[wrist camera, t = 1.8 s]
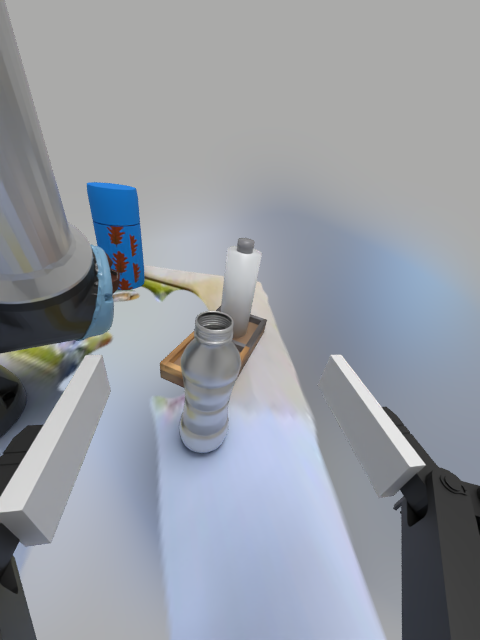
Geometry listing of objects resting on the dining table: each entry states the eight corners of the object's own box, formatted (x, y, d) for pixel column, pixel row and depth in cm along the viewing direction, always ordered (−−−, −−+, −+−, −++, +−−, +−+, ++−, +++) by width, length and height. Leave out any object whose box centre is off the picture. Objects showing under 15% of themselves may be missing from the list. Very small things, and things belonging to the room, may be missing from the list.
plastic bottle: (181, 416, 36) (182, 301, 25) (225, 416, 37) (244, 306, 26) (176, 460, 30) (173, 339, 19) (228, 458, 31) (253, 343, 21)
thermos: (110, 273, 72) (94, 181, 59) (147, 275, 75) (139, 187, 61) (99, 289, 64) (78, 184, 50) (141, 290, 66) (132, 191, 53)
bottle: (213, 332, 51) (222, 239, 40) (226, 318, 56) (236, 233, 46) (240, 341, 50) (257, 248, 39) (250, 327, 55) (267, 241, 44)
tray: (160, 377, 41) (159, 362, 39) (220, 316, 61) (221, 304, 59) (221, 404, 38) (223, 390, 36) (264, 331, 58) (266, 319, 56)
